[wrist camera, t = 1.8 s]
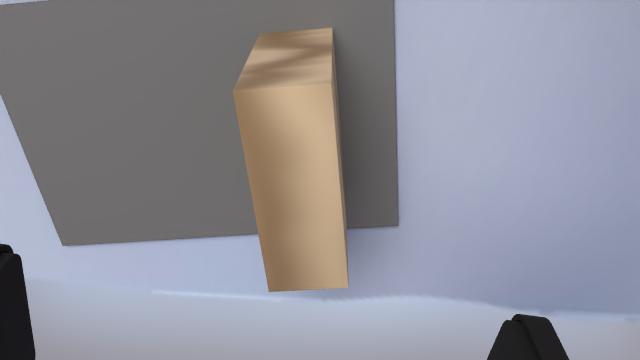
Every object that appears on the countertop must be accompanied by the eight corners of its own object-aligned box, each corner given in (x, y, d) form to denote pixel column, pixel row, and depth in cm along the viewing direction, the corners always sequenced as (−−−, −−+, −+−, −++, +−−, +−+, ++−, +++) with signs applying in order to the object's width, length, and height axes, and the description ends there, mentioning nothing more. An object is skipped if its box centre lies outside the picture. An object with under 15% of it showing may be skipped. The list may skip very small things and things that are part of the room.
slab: (332, 27, 33) (331, 83, 24) (345, 194, 38) (348, 287, 30) (259, 33, 33) (232, 90, 24) (283, 198, 39) (268, 291, 30)
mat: (392, -32, 31) (392, -31, 31) (397, 222, 40) (398, 225, 40) (-31, 7, 33) (-35, 9, 33) (64, 242, 42) (62, 245, 41)
